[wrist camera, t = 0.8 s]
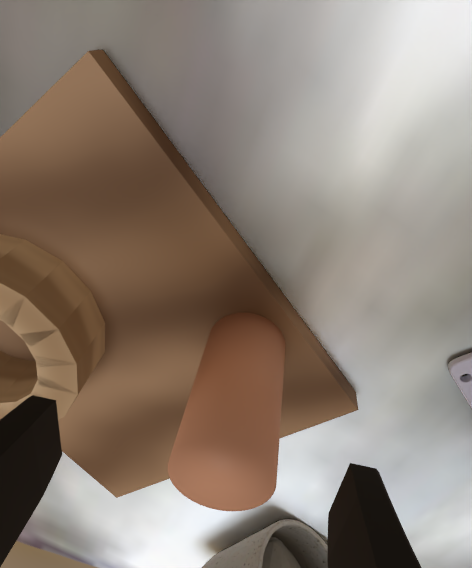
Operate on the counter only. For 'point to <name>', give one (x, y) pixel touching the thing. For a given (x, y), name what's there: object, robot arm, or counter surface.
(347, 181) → the counter surface
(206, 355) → the peg
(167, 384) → the board
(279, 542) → the ceramic mug
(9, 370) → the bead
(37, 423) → the robot arm
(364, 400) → the counter surface
